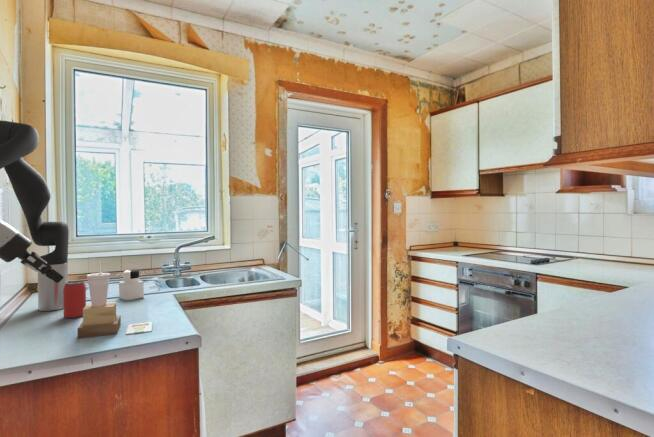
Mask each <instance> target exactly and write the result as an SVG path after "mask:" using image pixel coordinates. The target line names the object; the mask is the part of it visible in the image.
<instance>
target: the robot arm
mask: <svg viewBox="0 0 654 437" xmlns="http://www.w3.org/2000/svg"><path fill="white" fill-rule="evenodd" d="M39 142H40V136H39V132H38V131H37V129H36V128H35V126H33V125H30V124H27V123H21V122H16V121H15V122H14V121H9V120H0V170H1V169H4V171H5V174H6V175H7V177H8V179H9V181H10V184H11V187H12V189H13V191H14V192H13V193H14V194H15V197H16V200H18V203H19V205H20V207H21V210H22V212H23V215H24V216H25V219H26V223H27V227H28V229H29V234H30V236H31V239H30V238H28V237H27V236H25V235H24V234H22V233H21V232H20V231H19V230H17V229H15V228H14V227H13V226H12V225H10V224H9V223H7V222H5V221H4V220H2V219H0V259H1V261H2V260H3V261H4V262H6V263H10V262H12V261H14V260H15V259H16V258H17V259H19V260H21V261H19V263H21V265H23V266H25V267H27V268H29V269H31V270H33V271H34V272H36V273H37V303H38V304H37V308H38V309H37V310H38V311H39V312H49V311H58V310H64V305H63V289H64V286H65V283H67V282H69V277H68V276H69V271H68V270H69V269H68V258H69V257H68V256H69V237H70V236H69V234H70V232H69V231H70V230H69V226H68V224H67V223H66V222H64V221H44V220H43V219H42V214H43V212H44V210H45V209H46V207H47V206H48V205H49V203H50V201H51V193H50V189H49V186H48V183H47V181H46V180H45V178H44V177H43V175H42V174H41V173H40V172H39V171H37V170H36V169H35V168H34V167H33V166H32V165H30V164H29V163H28V162H27V161H25V159H24V157H25V156H28V155H30V154H32V153H33V152H34V151H35V150H36V149H37V147H38V145H39ZM32 243H34V245H36V246H39V247H52V246H53V247H54V250H53V251H51V252H49V253H46V254H43V255H41V256H40V255H39V254H38V253H36V251H35V252H34V251H31V252H29V251H28V248H30V247H31V246H32Z"/></svg>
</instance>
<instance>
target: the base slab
mask: <svg viewBox="0 0 654 437" xmlns="http://www.w3.org/2000/svg"><path fill="white" fill-rule="evenodd" d="M121 322H122V317H121V315H116V319H115V321H114V323H105V324H96V325H86V326H83V321H82V322H81V323H80V324H79V325H78V327H77V339H84V338H92V337H100V336H110V335H112V336H113V335H117V334H118V332H119V330H120V327H121V325H122V323H121Z"/></svg>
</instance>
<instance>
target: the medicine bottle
mask: <svg viewBox="0 0 654 437" xmlns="http://www.w3.org/2000/svg"><path fill="white" fill-rule="evenodd" d="M122 278H123V279H122V280H123V281H121V280H120V281H119V282H118V296H119V297H118V298H119V299H121V300H125V301H132V300H137V299H142V298H144V296H145V294H144V288H145V285H144V280H141V279H140V271H139V270H138V269H126V270H124V271H123V273H122Z"/></svg>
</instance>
